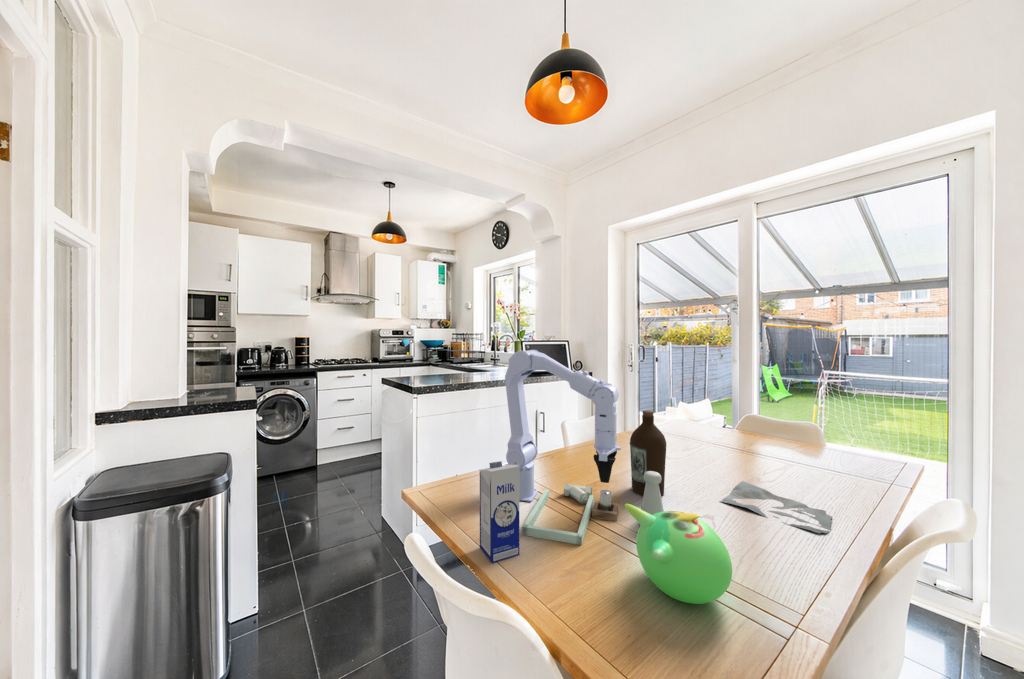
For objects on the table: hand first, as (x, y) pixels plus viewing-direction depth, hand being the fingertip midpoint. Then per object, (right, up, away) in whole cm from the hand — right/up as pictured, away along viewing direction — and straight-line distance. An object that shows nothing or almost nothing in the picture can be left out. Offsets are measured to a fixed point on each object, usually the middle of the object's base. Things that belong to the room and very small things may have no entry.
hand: (605, 479), depth 103 cm
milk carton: (-28, -10, -18) cm, 35 cm away
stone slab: (+48, -10, +3) cm, 50 cm away
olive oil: (+17, -9, +15) cm, 24 cm away
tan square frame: (0, -9, 0) cm, 9 cm away
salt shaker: (+11, -10, -5) cm, 15 cm away
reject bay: (-12, -9, -2) cm, 16 cm away
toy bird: (+6, -10, -31) cm, 33 cm away
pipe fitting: (-6, -10, +9) cm, 15 cm away
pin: (0, -9, 0) cm, 9 cm away
